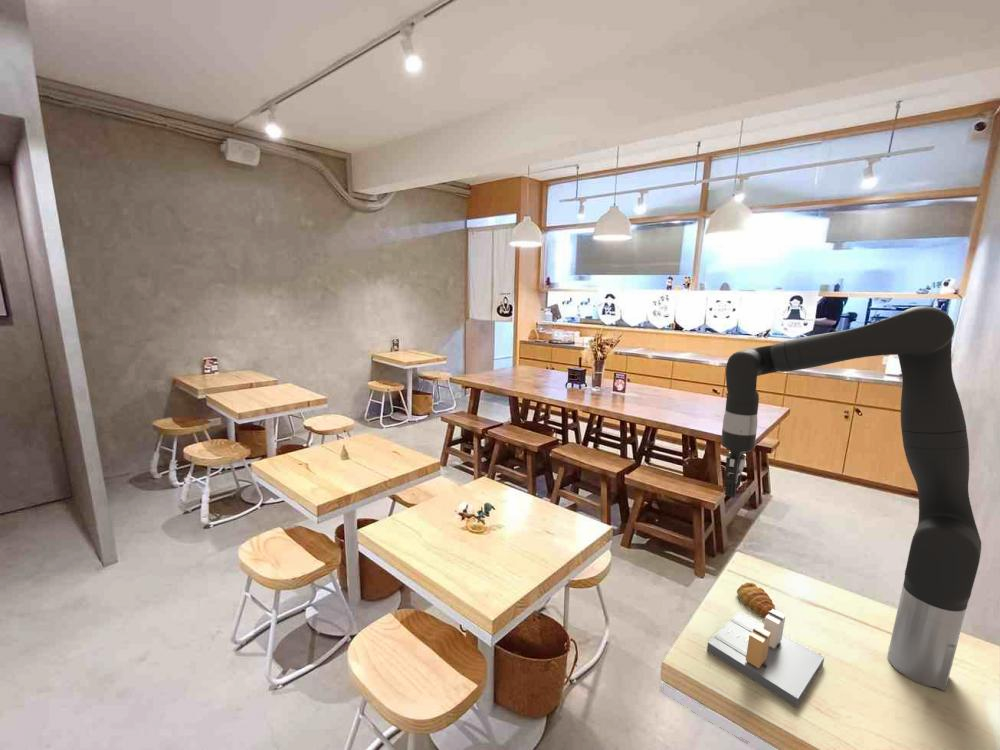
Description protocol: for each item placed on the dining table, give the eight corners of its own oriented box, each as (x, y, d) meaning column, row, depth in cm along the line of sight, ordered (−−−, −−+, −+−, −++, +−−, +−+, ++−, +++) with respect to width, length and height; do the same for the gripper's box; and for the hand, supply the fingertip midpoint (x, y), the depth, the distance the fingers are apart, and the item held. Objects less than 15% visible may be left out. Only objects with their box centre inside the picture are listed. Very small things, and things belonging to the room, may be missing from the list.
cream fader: (781, 639, 97) (786, 613, 95) (774, 648, 94) (778, 622, 93) (768, 632, 99) (772, 606, 97) (761, 641, 96) (765, 615, 95)
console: (822, 665, 93) (824, 656, 93) (796, 707, 83) (798, 698, 83) (738, 618, 106) (739, 610, 106) (706, 650, 96) (708, 641, 96)
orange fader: (767, 658, 92) (771, 631, 90) (759, 668, 89) (763, 640, 88) (753, 650, 94) (757, 623, 92) (745, 660, 91) (749, 632, 90)
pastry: (783, 619, 106) (786, 605, 106) (758, 621, 105) (760, 607, 105) (756, 593, 115) (758, 579, 115) (732, 595, 114) (734, 581, 114)
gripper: (752, 439, 104) (745, 504, 107) (759, 425, 115) (753, 484, 118) (717, 433, 108) (711, 496, 111) (727, 420, 119) (721, 477, 122)
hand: (732, 490), depth 114 cm, fingers open, 8 cm apart
